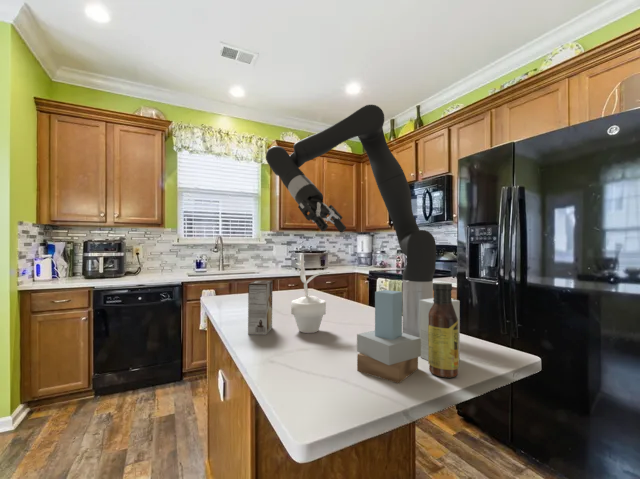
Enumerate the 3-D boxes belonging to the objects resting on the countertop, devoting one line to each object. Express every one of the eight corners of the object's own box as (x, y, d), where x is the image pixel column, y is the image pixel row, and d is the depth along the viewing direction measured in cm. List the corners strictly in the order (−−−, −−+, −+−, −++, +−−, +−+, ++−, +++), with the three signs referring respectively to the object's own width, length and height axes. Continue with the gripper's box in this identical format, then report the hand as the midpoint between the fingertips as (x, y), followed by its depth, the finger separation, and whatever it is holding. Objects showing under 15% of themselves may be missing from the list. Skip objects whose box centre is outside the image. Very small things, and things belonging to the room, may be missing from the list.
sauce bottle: (461, 380, 65) (461, 285, 66) (430, 377, 66) (430, 284, 67) (454, 368, 72) (454, 281, 72) (426, 366, 73) (426, 281, 73)
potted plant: (285, 334, 98) (286, 255, 99) (297, 325, 110) (298, 254, 110) (324, 337, 95) (324, 255, 96) (332, 328, 106) (333, 254, 107)
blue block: (384, 332, 74) (384, 289, 74) (401, 335, 71) (401, 291, 71) (375, 336, 71) (375, 291, 71) (392, 339, 68) (392, 293, 68)
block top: (387, 344, 78) (387, 328, 78) (420, 356, 69) (420, 338, 69) (356, 351, 72) (357, 334, 72) (388, 365, 64) (388, 345, 64)
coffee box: (253, 327, 107) (254, 280, 107) (272, 327, 107) (273, 280, 107) (247, 334, 98) (247, 283, 98) (267, 334, 98) (268, 283, 98)
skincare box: (442, 352, 82) (442, 296, 83) (461, 360, 77) (461, 299, 77) (417, 357, 79) (418, 298, 79) (436, 365, 73) (436, 302, 74)
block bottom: (378, 360, 78) (379, 343, 78) (417, 370, 71) (417, 352, 71) (357, 372, 70) (357, 354, 70) (398, 385, 64) (398, 365, 64)
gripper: (295, 179, 88) (326, 217, 80) (326, 187, 99) (357, 221, 91) (282, 199, 91) (311, 238, 83) (313, 205, 102) (342, 239, 94)
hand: (335, 229), depth 87 cm, fingers open, 8 cm apart
